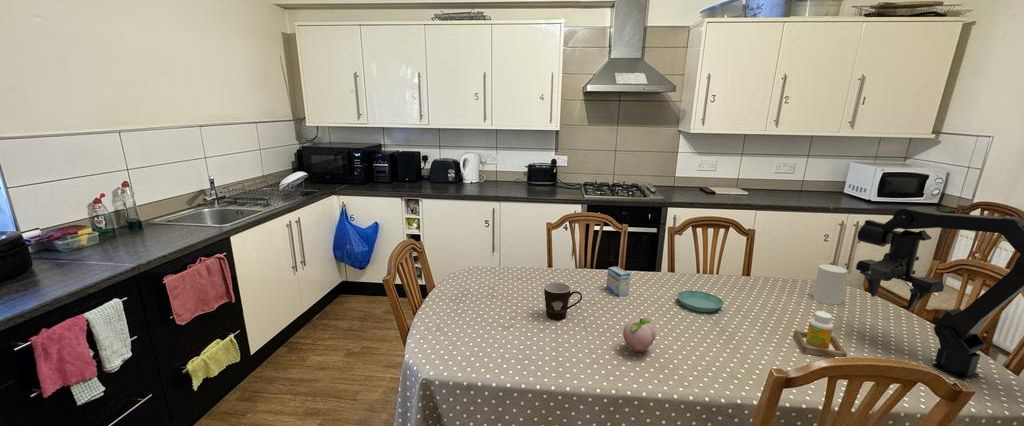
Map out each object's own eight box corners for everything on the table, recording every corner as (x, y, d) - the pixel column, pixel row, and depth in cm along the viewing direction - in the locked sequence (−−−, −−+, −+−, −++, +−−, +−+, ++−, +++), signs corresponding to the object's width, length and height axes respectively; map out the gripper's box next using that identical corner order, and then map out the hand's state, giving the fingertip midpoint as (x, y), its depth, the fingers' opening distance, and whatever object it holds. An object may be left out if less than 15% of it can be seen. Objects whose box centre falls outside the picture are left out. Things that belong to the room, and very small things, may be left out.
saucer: (732, 310, 143) (733, 303, 142) (701, 318, 137) (702, 311, 136) (697, 294, 156) (698, 287, 155) (667, 301, 150) (667, 294, 149)
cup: (845, 305, 147) (852, 273, 144) (819, 303, 149) (825, 271, 146) (833, 296, 155) (839, 265, 152) (808, 294, 157) (814, 263, 154)
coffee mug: (538, 318, 135) (539, 289, 133) (549, 307, 143) (550, 280, 141) (573, 327, 130) (574, 297, 128) (582, 315, 138) (583, 287, 135)
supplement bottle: (804, 346, 120) (810, 314, 118) (806, 338, 124) (812, 308, 122) (828, 352, 117) (834, 320, 114) (829, 344, 121) (835, 313, 118)
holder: (833, 342, 123) (834, 336, 123) (845, 360, 114) (847, 354, 114) (793, 336, 127) (794, 329, 126) (802, 353, 117) (803, 346, 117)
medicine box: (605, 289, 159) (607, 267, 157) (615, 287, 161) (617, 265, 159) (619, 297, 152) (621, 274, 150) (629, 295, 154) (631, 272, 152)
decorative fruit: (630, 339, 124) (632, 307, 121) (657, 349, 119) (661, 316, 116) (615, 352, 117) (618, 319, 114) (644, 363, 112) (647, 329, 109)
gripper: (847, 243, 125) (837, 293, 128) (922, 265, 107) (908, 321, 111) (874, 241, 128) (864, 289, 131) (952, 261, 110) (937, 316, 114)
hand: (890, 303), depth 122 cm, fingers open, 9 cm apart
